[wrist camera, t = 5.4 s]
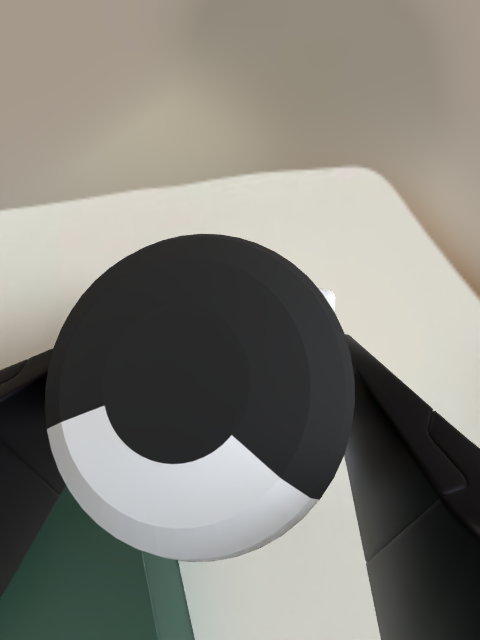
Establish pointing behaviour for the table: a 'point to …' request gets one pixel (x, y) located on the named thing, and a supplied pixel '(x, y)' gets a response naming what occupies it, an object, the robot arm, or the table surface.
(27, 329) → the table surface
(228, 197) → the table surface
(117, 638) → the book
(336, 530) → the table surface
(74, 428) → the medicine bottle
